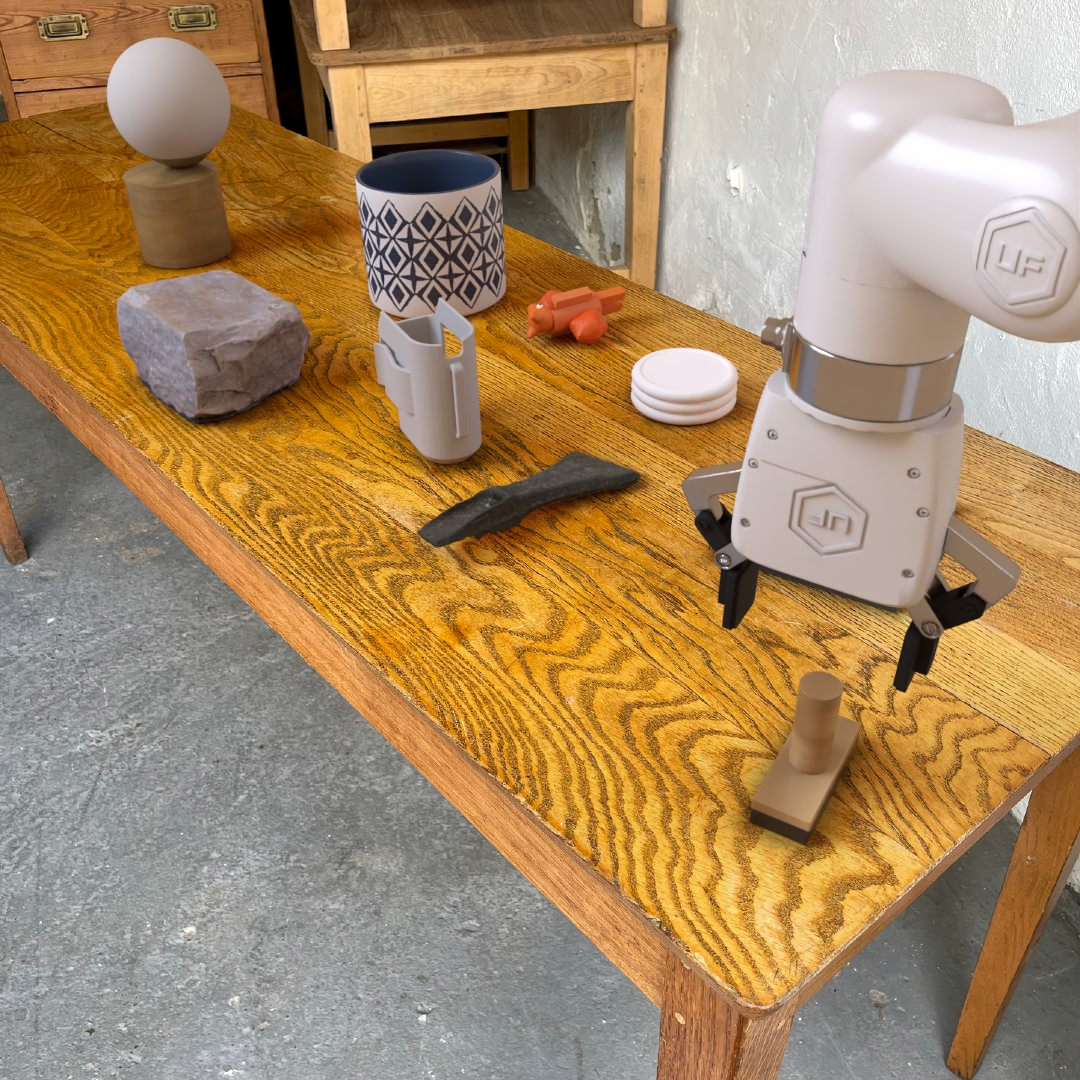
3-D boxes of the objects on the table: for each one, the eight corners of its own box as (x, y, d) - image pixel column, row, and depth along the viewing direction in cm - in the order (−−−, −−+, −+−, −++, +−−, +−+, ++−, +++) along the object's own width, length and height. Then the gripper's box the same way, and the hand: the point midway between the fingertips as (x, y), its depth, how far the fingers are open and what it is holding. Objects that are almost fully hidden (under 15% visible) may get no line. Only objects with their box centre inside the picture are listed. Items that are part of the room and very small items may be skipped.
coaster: (659, 436, 101) (661, 402, 99) (613, 389, 108) (614, 357, 106) (755, 414, 104) (758, 380, 102) (704, 370, 111) (706, 338, 109)
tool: (580, 464, 100) (580, 432, 98) (645, 490, 95) (647, 457, 93) (398, 543, 87) (396, 508, 85) (463, 577, 82) (461, 540, 80)
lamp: (190, 222, 151) (148, 23, 137) (276, 234, 147) (242, 30, 132) (114, 261, 140) (59, 49, 126) (205, 275, 135) (159, 57, 121)
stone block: (333, 298, 108) (195, 313, 97) (330, 411, 112) (198, 436, 102) (237, 264, 117) (102, 274, 107) (238, 369, 122) (109, 388, 112)
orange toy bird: (612, 264, 119) (516, 289, 115) (649, 307, 116) (551, 334, 111) (604, 301, 123) (510, 326, 119) (639, 343, 120) (544, 371, 115)
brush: (857, 746, 69) (876, 649, 64) (806, 846, 63) (823, 747, 58) (803, 726, 71) (818, 630, 66) (748, 822, 64) (761, 723, 60)
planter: (527, 307, 125) (522, 180, 117) (392, 334, 120) (377, 203, 112) (479, 260, 137) (471, 141, 129) (354, 282, 132) (338, 161, 124)
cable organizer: (442, 405, 107) (431, 287, 100) (497, 463, 98) (490, 338, 91) (377, 422, 104) (362, 303, 97) (428, 483, 95) (415, 357, 88)
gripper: (664, 354, 52) (647, 631, 62) (1052, 452, 44) (961, 748, 55) (729, 296, 57) (703, 560, 67) (1086, 376, 50) (997, 659, 60)
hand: (819, 644), depth 61 cm, fingers open, 9 cm apart
